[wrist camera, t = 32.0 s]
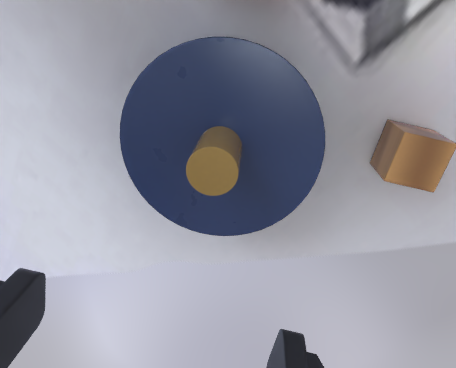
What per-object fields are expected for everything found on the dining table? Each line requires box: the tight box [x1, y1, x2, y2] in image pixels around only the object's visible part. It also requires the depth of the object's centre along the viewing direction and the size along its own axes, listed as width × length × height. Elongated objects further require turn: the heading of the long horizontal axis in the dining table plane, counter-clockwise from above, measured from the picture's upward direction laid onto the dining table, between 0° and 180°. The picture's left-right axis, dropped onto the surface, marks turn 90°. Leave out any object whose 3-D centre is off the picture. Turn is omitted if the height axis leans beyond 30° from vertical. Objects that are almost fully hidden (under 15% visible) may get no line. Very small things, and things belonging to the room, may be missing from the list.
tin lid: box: [120, 37, 325, 236], centre depth 27 cm, size 17×17×7 cm
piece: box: [370, 120, 456, 192], centre depth 33 cm, size 5×5×5 cm
